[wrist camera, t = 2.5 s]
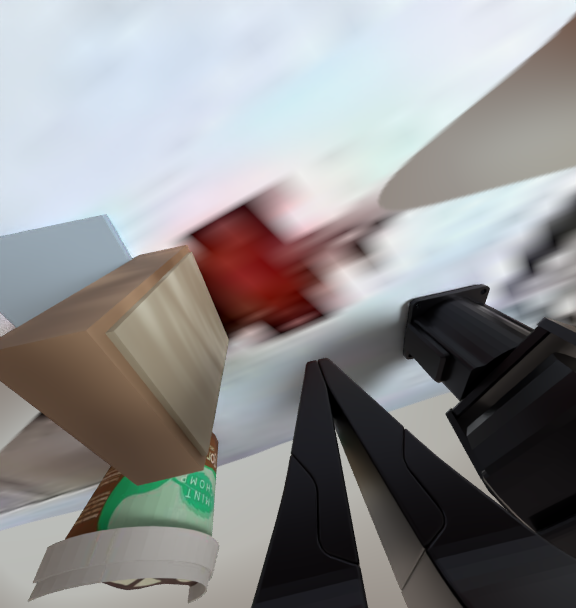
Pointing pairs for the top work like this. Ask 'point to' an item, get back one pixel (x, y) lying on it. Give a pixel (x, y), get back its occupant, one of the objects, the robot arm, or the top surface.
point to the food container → (139, 535)
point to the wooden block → (128, 365)
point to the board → (55, 264)
